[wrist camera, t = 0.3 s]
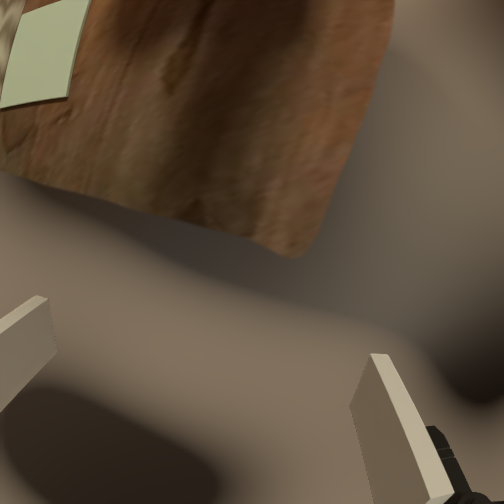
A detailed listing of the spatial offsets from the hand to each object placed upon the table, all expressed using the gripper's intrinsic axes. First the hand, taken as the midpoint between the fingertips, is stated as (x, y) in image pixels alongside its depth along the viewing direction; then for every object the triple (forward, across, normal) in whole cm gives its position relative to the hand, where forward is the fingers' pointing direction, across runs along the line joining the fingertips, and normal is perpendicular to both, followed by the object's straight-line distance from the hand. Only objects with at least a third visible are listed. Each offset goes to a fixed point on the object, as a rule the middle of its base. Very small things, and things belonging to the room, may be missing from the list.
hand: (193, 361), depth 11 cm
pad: (+28, -36, +24) cm, 52 cm away
